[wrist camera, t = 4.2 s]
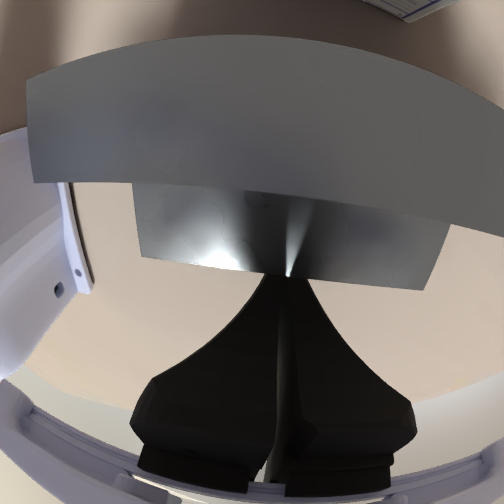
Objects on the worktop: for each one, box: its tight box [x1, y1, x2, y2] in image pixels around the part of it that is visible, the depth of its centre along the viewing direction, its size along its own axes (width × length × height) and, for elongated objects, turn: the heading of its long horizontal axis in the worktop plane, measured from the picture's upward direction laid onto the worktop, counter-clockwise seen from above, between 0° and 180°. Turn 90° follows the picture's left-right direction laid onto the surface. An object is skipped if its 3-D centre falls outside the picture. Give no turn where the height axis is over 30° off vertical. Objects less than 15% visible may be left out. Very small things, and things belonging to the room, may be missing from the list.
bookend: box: [26, 35, 504, 291], centre depth 6 cm, size 6×10×6 cm, turn 86°
